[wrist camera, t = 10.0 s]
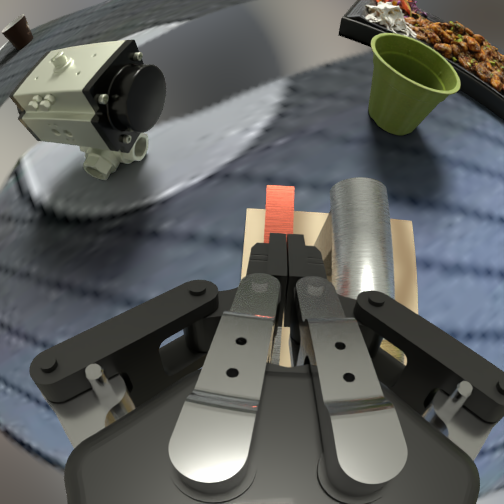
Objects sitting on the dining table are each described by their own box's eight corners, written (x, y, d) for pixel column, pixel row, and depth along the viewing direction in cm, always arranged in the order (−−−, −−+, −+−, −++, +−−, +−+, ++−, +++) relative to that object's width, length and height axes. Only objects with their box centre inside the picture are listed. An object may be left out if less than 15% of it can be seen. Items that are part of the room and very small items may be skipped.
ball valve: (58, 173, 35) (-14, 97, 19) (86, 126, 38) (31, 44, 21) (159, 198, 33) (90, 87, 16) (188, 140, 36) (149, 23, 19)
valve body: (363, 234, 29) (410, 175, 18) (348, 484, 22) (386, 543, 11) (285, 229, 30) (297, 163, 19) (267, 487, 22) (269, 555, 11)
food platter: (338, 35, 44) (345, -8, 34) (364, 1, 50) (371, -31, 40) (533, 147, 36) (559, 119, 26) (519, 86, 42) (536, 61, 32)
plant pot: (438, 152, 34) (476, 101, 23) (364, 147, 34) (392, 84, 24) (411, 93, 38) (435, 42, 27) (343, 86, 38) (358, 26, 27)
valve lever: (277, 430, 18) (290, 203, 22) (279, 445, 15) (294, 185, 19) (251, 428, 18) (266, 202, 22) (249, 443, 15) (266, 183, 20)
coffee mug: (30, 43, 53) (18, 22, 43) (10, 56, 52) (-3, 36, 43) (42, 27, 56) (31, 7, 46) (22, 38, 56) (11, 19, 46)
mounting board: (405, 226, 31) (411, 221, 30) (392, 486, 22) (397, 491, 21) (247, 214, 32) (246, 208, 31) (227, 492, 23) (225, 498, 22)
